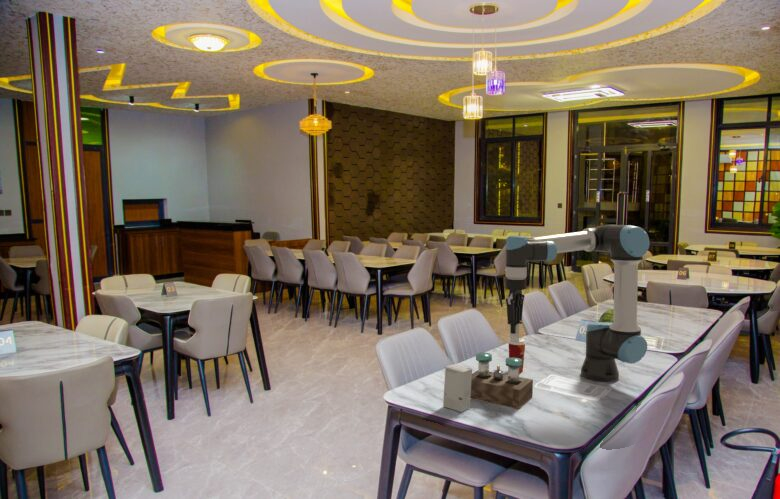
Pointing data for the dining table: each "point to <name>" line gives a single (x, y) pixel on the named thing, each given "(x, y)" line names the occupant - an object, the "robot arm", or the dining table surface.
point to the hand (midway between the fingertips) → (514, 341)
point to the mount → (501, 390)
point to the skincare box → (457, 387)
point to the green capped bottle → (513, 370)
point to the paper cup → (517, 351)
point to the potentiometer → (498, 374)
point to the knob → (483, 364)
